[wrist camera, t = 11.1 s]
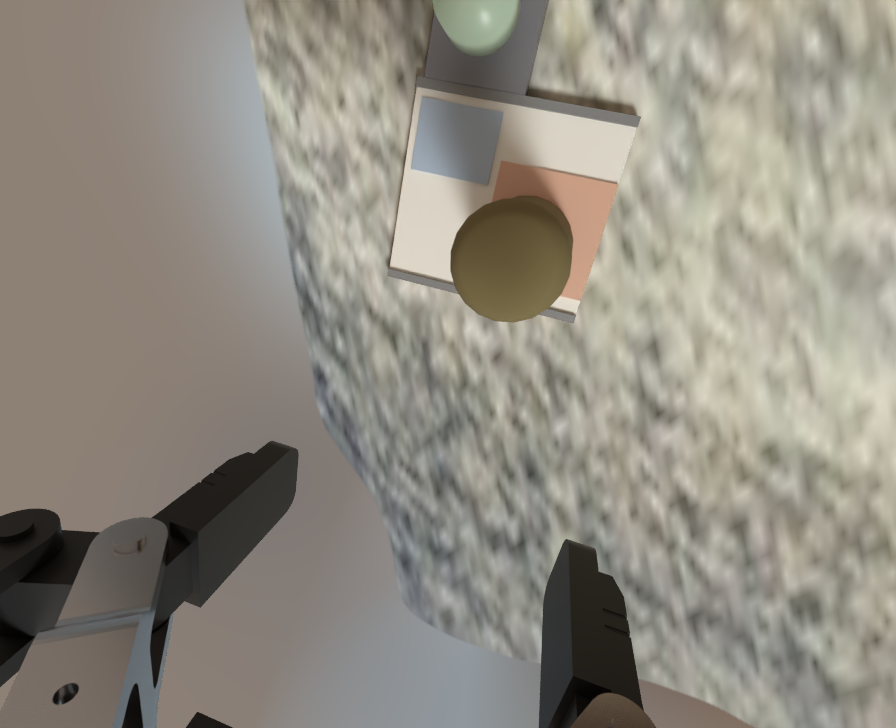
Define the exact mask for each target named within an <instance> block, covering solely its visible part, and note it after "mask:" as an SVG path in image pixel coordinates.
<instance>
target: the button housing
mask: <svg viewBox="0 0 896 728" xmlns="http://www.w3.org/2000/svg"><path fill="white" fill-rule="evenodd" d="M548 2H549V0H520V14H519V19H518V23H517V25H516V28H515V30H514V32H513V34H512V35H511V37H510V39H509V40H508V41H507V42H506V43H505V44H504V45H503V46H502V47H501V48H500V49H499V50H497V51H496V52H494V53H492V54H490V55H487V56H482V57H474V56H469V55H466V54H464V53H462V52H461V51H459V50H458V49H457V48H456V47H455V46H454V45H453V43H452V42H451V40H450V39H449V37H448V36H447V34H446V32H445V31H444V29H443V27H442V26H441V24H440V22H439V21H438V19H437V17H436V14H435V11H434V16H433V23H432V29H431V36H430V42H429V49H428V55H427V62H426V68H425V75H424V77H426V78H431V79H437V80H442V81H448V82H453V83H459V84H464V85H470V86H475V87H481V88H486V89H492V90H497V91H503V92H508V93H514V94H519V95H525V96H526V95H527V91H528V87H529V83H530V78H531V74H532V70H533V66H534V61H535V57H536V53H537V48H538V44H539V40H540V36H541V31H542V27H543V23H544V19H545V14H546V10H547V6H548Z"/></svg>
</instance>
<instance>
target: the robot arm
mask: <svg viewBox="0 0 896 728" xmlns="http://www.w3.org/2000/svg"><path fill="white" fill-rule="evenodd" d="M297 467H298V450H297V449H296V448H293V447H290V446H287V445H284V444H281V443H277V442H275V441H270V442H268V443H267V444H266V445H265V446H263V447H262V448H261V449H259V450H258V451H257V452H256V453H255V454H252V453H249V452H247V453H244V454H242V455H239V456H237V457H234V458H232V459H229V460H228V461H226V462H225V463H224V464H223V465H221V466H220V467H218V468H217V469H216V470H215V471H214V473H210V474H209V475H208V476H207V477H205V478H204V479H203V480H202V482H201V483H200V482H199V483H197V484H196V485H195V486H193V487H192V488H191V489H189V490H188V491H187V492H186V493H184V494H183V495H181V496H180V497H179V498H177V499H176V500H175V501H173V502H172V503H171V504H170V505H168V506H167V507H166V508H164V509H163V510H162V511H160V512H159V513H158V514H156V515H155V516H153V517H152V518H144V517H142V518H133V519H128V520H124V521H121V522H118V523H116V524H114V525H111V526H110V527H108V528H106V529H105V530H103V531H102V532H100V533H99V532H82V531H68V530H62V529H61V523H60V518H59V517H58V515H57V514H56V513H54V512H52V511H50V510H46V509H26V510H20V511H16V512H12V513H9V514H6V515H3V516H0V687H1V686H2V685H3V684H4V683H5V682H6V681H8V680H9V679H10V678H11V677H12V676H13V675H14V674H16V673H17V672H18V671H19V672H18V674H17V676H16V679H15V681H14V683H13V685H12V687H11V689H10V692H9V694H8V696H7V698H6V700H5V702H4V705H3V707H2V709H1V711H0V728H156V726H157V709H158V700H159V694H160V688H161V683H162V678H163V672H164V667H165V662H166V656H167V650H168V645H169V640H170V634H171V629H172V623H173V612H174V611H175V610H176V609H177V608H178V607H179V606H180V605H181V604H182V603H183V602H184V601H186V602H188V603H190V604H193V605H196V606H198V607H201V606H202V605H203V604H204V603H205V602H206V601H207V600H208V598H209V597H210V596H211V595H212V594H213V593H214V592H215V591H216V590H217V589H218V588H219V586H220V585H221V584H222V583H223V582H224V581H225V580H226V579H227V577H228V576H229V575H230V574H231V573H232V572H233V571H234V570H235V569H236V568H237V566H238V565H239V564H240V563H241V562H242V561H243V560H244V559H245V558H246V556H247V555H248V554H249V553H250V552H251V551H252V550H253V548H254V547H255V546H256V545H257V544H258V543H259V542H260V541H261V540H262V539H263V538H264V536H265V535H266V534H267V533H268V532H269V531H270V530H271V529H272V528H273V527H274V525H275V524H276V523H277V522H278V521H279V520H280V519H281V518H282V517H283V515H284V514H285V513H286V512H287V511H288V509H289V507H290V506H291V504H292V502H293V499H294V496H295V492H296V480H297ZM629 635H630V631H629V625H628V621H627V613H626V607H625V602H624V596H623V594H622V593H621V591H620V589H619V587H618V586H617V584H616V582H615V580H614V579H613V577H612V576H610V575H607V574H604V573H601V572H598V563H597V554H596V550H595V549H594V548H592V547H589V546H586V545H583V544H580V543H577V542H574V541H571V540H568V539H566V540H565V541H564V543H563V545H562V547H561V550H560V552H559V555H558V557H557V560H556V562H555V565H554V567H553V570H552V572H551V575H550V577H549V580H548V583H547V586H546V591H545V596H544V603H543V627H542V655H541V682H540V711H539V728H656V726H655V725H654V723H653V722H652V720H651V719H650V718H649V717H648V715H647V714H646V713H645V712H644V709H643V705H642V700H641V695H640V689H639V684H638V677H637V671H636V665H635V660H634V654H633V648H632V642H631V638H630V637H629ZM186 728H232V727H230V726H228V725H226V724H223V723H221V722H219V721H217V720H215V719H212V718H210V717H208V716H206V715H204V714H201V713H199V712H197V713H196V714H195V716H194V717H193V719H192V720H191V722H190V723H189V724H188V726H187V727H186Z"/></svg>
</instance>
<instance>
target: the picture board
mask: <svg viewBox="0 0 896 728" xmlns="http://www.w3.org/2000/svg"><path fill="white" fill-rule="evenodd" d="M416 87H417V88H416V95H415V102H414V109H413V115H412V122H411V129H410V135H409V142H408V149H407V155H406V162H405V169H404V176H403V182H402V189H401V196H400V202H399V209H398V216H397V223H396V229H395V236H394V243H393V249H392V256H391V263H390V268H389V269H388V275H387V276H390V277H394V278H398V279H402V280H406V281H410V282H414V283H417V284H421V285H425V286H429V287H433V288H437V289H441V290H445V291H449V292H453V293H457V294H459V293H458V292H457V290H456V289H455V285H454V282H453V278H452V275H451V271H450V260H451V249H452V245H453V242H454V239H455V236H456V233H457V232H458V230H459V229H460V227H461V226H462V225H463V223H464V222H465V220H466V219H467V218H468V216H470V215H471V214H473V213H474V212H475V211H477V210H478V209H479V208H481V207H482V206H483V205H485V204H488V203H491V202H494V201H497V200H501V199H511V198H514V197H517V196H537V197H540V198H543V199H545V200H548V201H551V202H552V203H553V204H554V205H555V206H557V207H558V208H559V209H560V210H561V211H562V212H563V213H564V215H565V217H566V218H567V220H568V222H569V224H570V226H571V231H572V236H573V249H572V262H571V271H570V277H569V279H568V281H567V283H566V286H565V288H564V290H563V292H562V294H561V295H560V296H559V297H558V299H557V300H556V301H555V302H554V303H553V304H552V305H551V306H550V308H548V309H547V310H545V311H543V312H542V313H540V314H539V315H543V316H547V317H551V318H554V319H558V320H562V321H566V322H570V323H574V320H575V317H576V312H577V309H578V306H579V303H580V301H581V298H582V295H583V292H584V289H585V286H586V283H587V280H588V277H589V274H590V271H591V268H592V264H593V261H594V258H595V255H596V252H597V249H598V246H599V243H600V240H601V237H602V234H603V231H604V228H605V225H606V222H607V219H608V216H609V213H610V210H611V206H612V203H613V200H614V197H615V194H616V191H617V188H618V184H619V181H620V178H621V175H622V172H623V169H624V166H625V162H626V159H627V156H628V153H629V150H630V147H631V144H632V141H633V138H634V135H635V132H636V129H637V127H638V124H639V121H640V118H641V117H640V116H635V115H629V114H624V113H618V112H613V111H607V110H602V109H596V108H591V107H585V106H580V105H574V104H569V103H563V102H558V101H552V100H547V99H541V98H536V97H530V96H525V95H519V94H514V93H508V92H503V91H497V90H492V89H486V88H481V87H475V86H470V85H464V84H459V83H453V82H448V81H442V80H437V79H431V78H426V77H420V76H417V79H416Z"/></svg>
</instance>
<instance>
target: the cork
mask: <svg viewBox="0 0 896 728" xmlns="http://www.w3.org/2000/svg"><path fill="white" fill-rule="evenodd" d="M572 249H573V236H572V231H571V226H570V224H569V222H568V220H567V218H566V217H565V215H564V213H563V212H562V211H561V210H560V209H559V208H558V207H557V206H555V205H554V204H553V203H552V202H551V201H548V200H545V199H543V198H540V197H537V196H517V197H514V198H511V199H501V200H497V201H494V202H491V203H488V204H485V205H483V206H482V207H481V208H479V209H478V210H477V211H475V212H474V213H473V214H471V215H470V216H468V218H467V219H466V220H465V222H464V223H463V225H462V226H461V227H460V229H459V230H458V232H457V233H456V236H455V239H454V242H453V245H452V249H451V260H450V271H451V275H452V278H453V282H454V285H455V289H456V290H457V292H458V293H459V295H460V296H461V298H462V299H463V301H464V302H465V304H467V305H468V306H469V307H470V308H472V309H473V310H474V311H475V312H476V313H478V314H479V315H481V316H484V317H486V318H489V319H491V320H494V321H502V322H518V321H522V320H526V319H530V318H533V317H535V316H537V315H538V314H540V313H542V312H543V311H545V310H547V309H548V308H550V306H551V305H552V304H553V303H554V302H555V301H556V300H557V299H558V297H559V296H560V295H561V294H562V292H563V290H564V288H565V286H566V283H567V281H568V279H569V277H570V271H571V262H572Z"/></svg>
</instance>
